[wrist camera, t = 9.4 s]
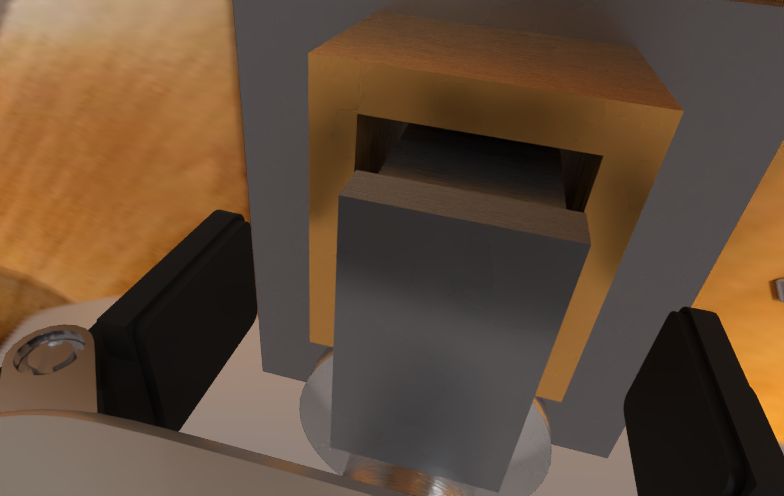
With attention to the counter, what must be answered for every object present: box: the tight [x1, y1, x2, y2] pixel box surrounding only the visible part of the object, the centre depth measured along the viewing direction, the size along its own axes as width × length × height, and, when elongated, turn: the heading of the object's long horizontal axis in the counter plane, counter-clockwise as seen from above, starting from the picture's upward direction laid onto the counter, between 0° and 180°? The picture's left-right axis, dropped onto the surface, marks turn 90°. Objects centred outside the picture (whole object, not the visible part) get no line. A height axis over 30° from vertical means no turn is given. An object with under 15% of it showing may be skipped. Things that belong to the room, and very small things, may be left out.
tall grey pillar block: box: [330, 123, 591, 493], centre depth 14 cm, size 7×4×10 cm, turn 175°
